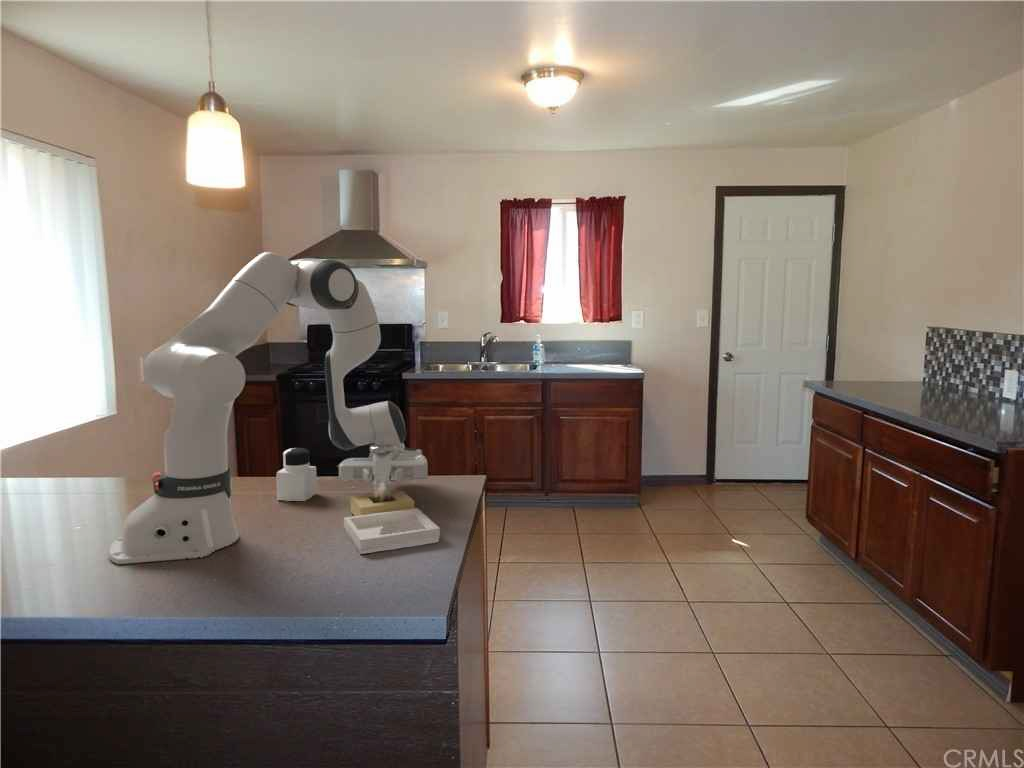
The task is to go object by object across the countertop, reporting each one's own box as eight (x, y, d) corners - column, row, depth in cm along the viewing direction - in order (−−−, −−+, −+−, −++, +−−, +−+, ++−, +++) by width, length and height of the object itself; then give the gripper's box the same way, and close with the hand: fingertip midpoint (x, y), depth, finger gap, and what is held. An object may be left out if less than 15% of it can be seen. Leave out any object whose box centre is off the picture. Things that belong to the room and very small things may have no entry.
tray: (360, 555, 124) (360, 540, 124) (344, 531, 136) (343, 517, 136) (439, 542, 131) (439, 528, 131) (417, 521, 144) (417, 508, 143)
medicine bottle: (317, 494, 162) (316, 446, 161) (305, 502, 155) (304, 453, 154) (289, 492, 163) (288, 445, 161) (276, 501, 156) (275, 452, 154)
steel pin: (374, 521, 143) (373, 449, 141) (367, 514, 148) (367, 444, 146) (397, 517, 146) (396, 447, 144) (390, 511, 150) (389, 442, 148)
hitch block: (360, 525, 140) (360, 507, 140) (350, 513, 148) (350, 496, 147) (414, 518, 145) (414, 501, 145) (402, 506, 153) (401, 490, 153)
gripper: (342, 450, 157) (333, 464, 143) (427, 449, 159) (427, 463, 146) (342, 475, 157) (333, 492, 144) (427, 474, 160) (427, 491, 146)
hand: (381, 477), depth 145 cm, fingers closed on steel pin, 4 cm apart
